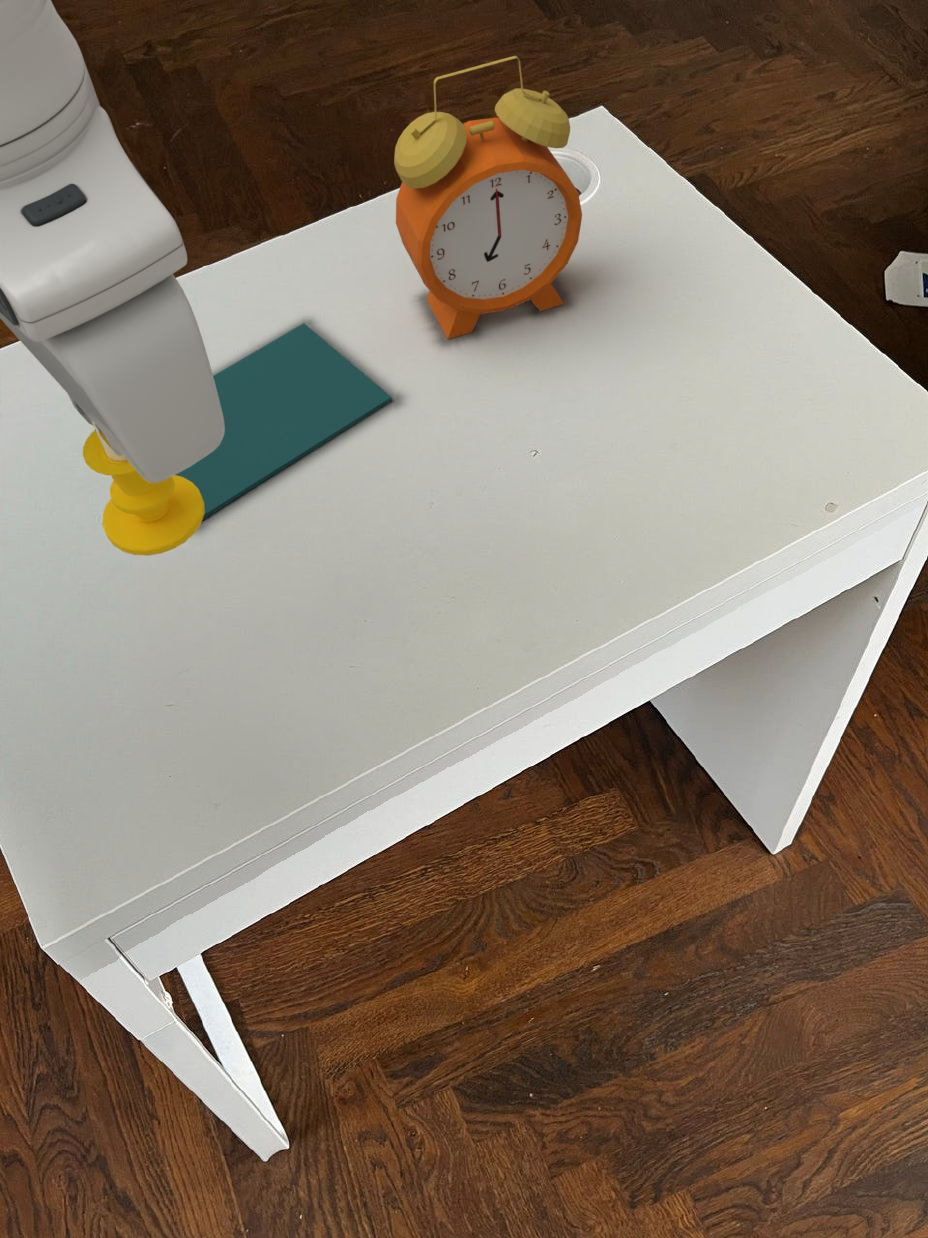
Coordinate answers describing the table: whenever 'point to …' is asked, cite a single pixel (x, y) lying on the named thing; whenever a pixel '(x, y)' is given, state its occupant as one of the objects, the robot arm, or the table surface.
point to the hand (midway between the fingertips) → (114, 426)
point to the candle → (143, 504)
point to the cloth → (280, 412)
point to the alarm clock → (487, 206)
